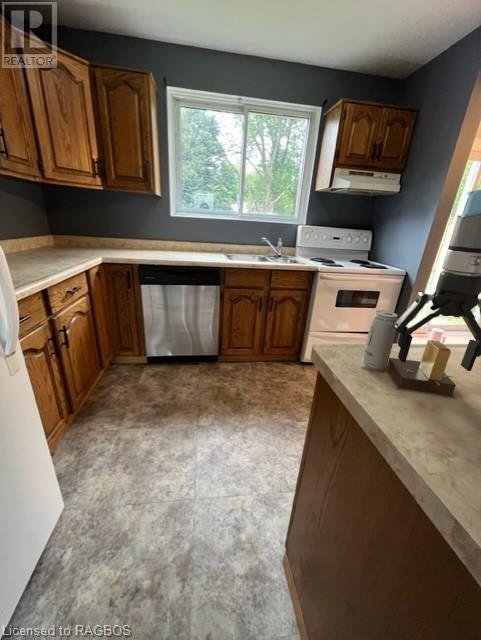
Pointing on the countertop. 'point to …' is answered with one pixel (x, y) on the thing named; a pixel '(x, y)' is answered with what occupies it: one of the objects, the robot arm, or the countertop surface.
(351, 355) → the countertop surface
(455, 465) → the countertop surface
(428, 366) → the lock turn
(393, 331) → the energy drink can
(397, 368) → the plate
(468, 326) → the robot arm
